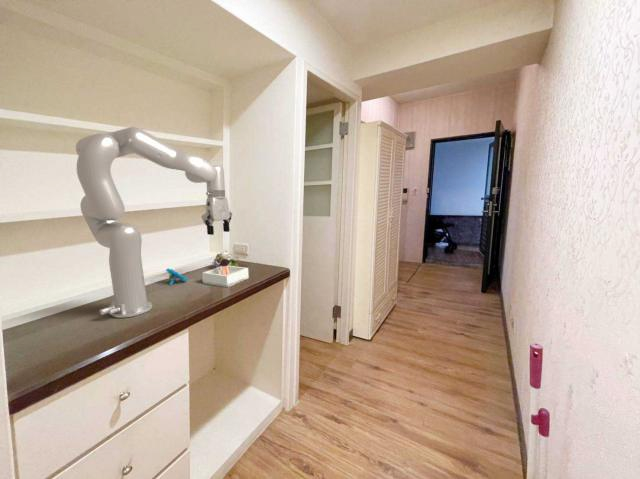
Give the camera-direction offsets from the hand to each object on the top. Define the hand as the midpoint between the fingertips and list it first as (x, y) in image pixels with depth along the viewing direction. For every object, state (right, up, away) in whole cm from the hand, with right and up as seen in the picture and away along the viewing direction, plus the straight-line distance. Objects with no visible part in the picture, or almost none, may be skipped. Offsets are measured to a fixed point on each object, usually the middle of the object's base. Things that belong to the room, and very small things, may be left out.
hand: (218, 233), depth 136 cm
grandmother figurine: (+2, -21, +5) cm, 22 cm away
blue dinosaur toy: (-20, -23, +3) cm, 31 cm away
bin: (+2, -22, +5) cm, 23 cm away
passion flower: (-5, -19, +25) cm, 32 cm away
